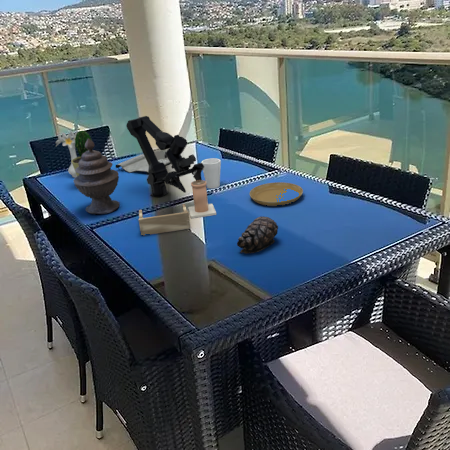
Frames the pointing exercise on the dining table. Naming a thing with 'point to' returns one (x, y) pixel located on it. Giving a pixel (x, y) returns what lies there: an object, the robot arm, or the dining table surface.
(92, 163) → the decorative urn
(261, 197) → the plant saucer
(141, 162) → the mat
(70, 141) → the flower vase
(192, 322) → the dining table surface
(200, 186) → the terracotta pot
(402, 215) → the dining table surface
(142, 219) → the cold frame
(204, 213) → the stone tile
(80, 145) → the potted cactus
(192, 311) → the dining table surface
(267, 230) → the pine cone
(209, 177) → the foam cup
